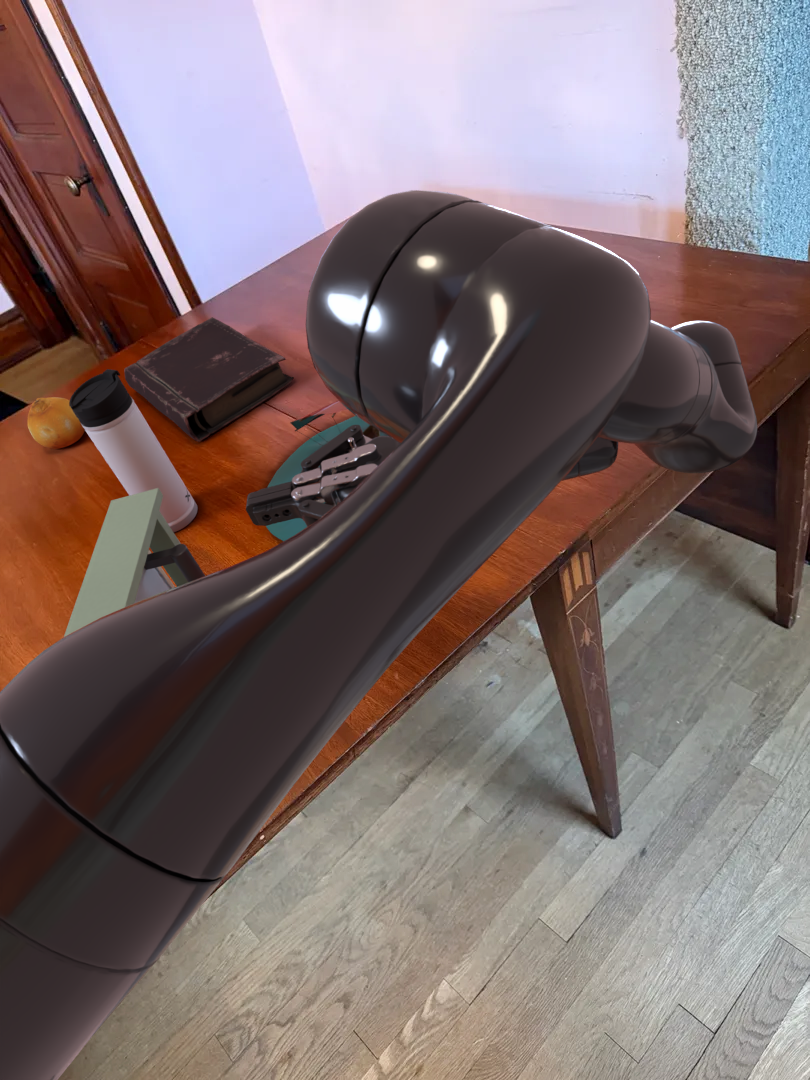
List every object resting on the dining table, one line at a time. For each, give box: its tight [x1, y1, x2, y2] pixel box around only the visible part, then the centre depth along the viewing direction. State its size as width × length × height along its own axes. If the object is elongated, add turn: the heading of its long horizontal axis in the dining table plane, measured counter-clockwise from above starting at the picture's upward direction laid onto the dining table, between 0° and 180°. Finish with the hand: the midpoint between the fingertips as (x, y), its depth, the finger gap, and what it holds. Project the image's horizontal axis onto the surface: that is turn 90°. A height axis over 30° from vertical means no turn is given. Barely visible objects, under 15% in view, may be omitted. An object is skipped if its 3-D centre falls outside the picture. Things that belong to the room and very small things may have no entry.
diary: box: [123, 316, 295, 443], centre depth 116 cm, size 19×25×5 cm
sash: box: [135, 543, 206, 603], centre depth 69 cm, size 5×8×14 cm, turn 4°
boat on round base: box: [265, 399, 387, 542], centre depth 87 cm, size 28×28×11 cm
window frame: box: [63, 488, 188, 637], centre depth 67 cm, size 6×22×17 cm, turn 4°
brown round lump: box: [26, 396, 86, 450], centre depth 116 cm, size 8×8×8 cm
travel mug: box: [69, 368, 199, 533], centre depth 88 cm, size 6×7×20 cm
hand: (250, 510), depth 57 cm, fingers closed
